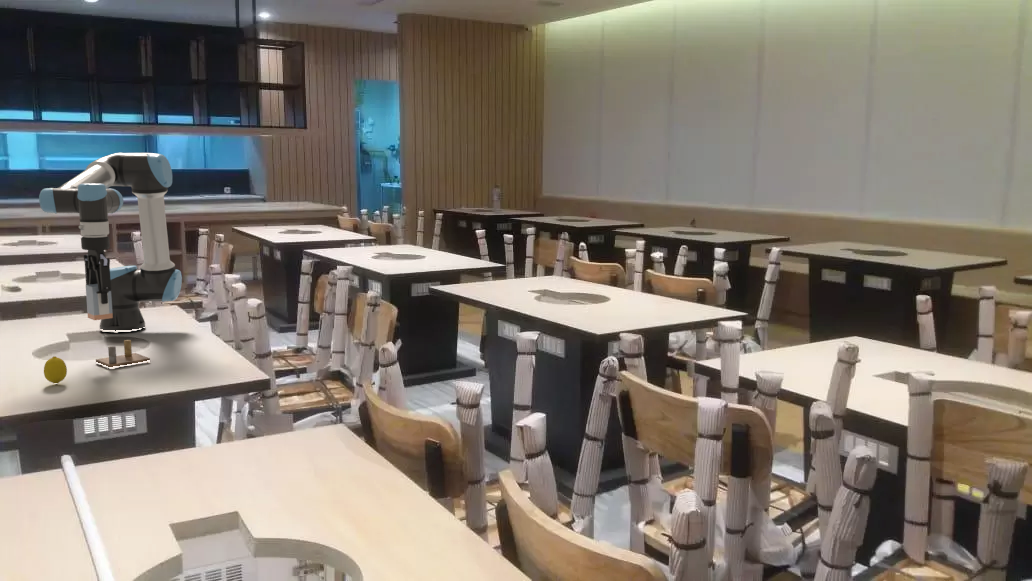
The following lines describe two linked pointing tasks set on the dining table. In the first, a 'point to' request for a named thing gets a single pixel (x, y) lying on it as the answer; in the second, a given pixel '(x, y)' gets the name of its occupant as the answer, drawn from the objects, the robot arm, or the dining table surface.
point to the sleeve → (96, 303)
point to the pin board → (122, 356)
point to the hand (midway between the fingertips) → (100, 312)
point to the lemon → (55, 370)
